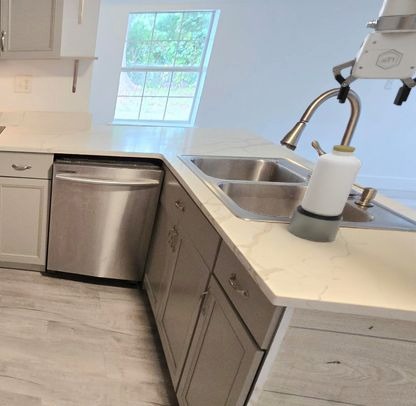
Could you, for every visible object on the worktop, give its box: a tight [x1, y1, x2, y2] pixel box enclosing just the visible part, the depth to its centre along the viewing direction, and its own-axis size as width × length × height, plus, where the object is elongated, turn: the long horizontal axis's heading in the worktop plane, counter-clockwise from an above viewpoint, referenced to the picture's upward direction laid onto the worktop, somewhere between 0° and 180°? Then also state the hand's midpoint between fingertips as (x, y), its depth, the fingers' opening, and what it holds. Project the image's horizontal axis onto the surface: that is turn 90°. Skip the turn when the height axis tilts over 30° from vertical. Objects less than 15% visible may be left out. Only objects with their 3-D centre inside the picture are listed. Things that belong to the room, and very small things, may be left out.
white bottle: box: [300, 144, 362, 216], centre depth 96 cm, size 8×8×18 cm
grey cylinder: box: [287, 204, 344, 243], centre depth 101 cm, size 10×10×7 cm
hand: (368, 103), depth 88 cm, fingers open, 9 cm apart
